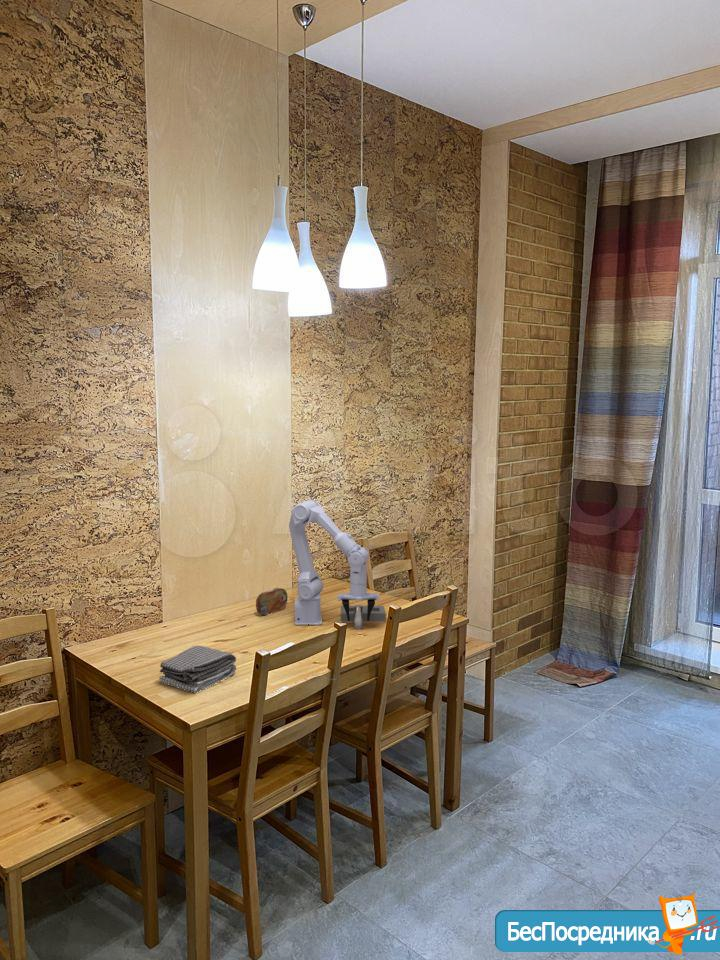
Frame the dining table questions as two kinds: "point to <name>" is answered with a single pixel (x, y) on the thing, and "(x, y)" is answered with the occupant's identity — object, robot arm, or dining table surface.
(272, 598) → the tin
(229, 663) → the towel
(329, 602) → the dining table surface
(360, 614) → the pin
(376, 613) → the hole block
